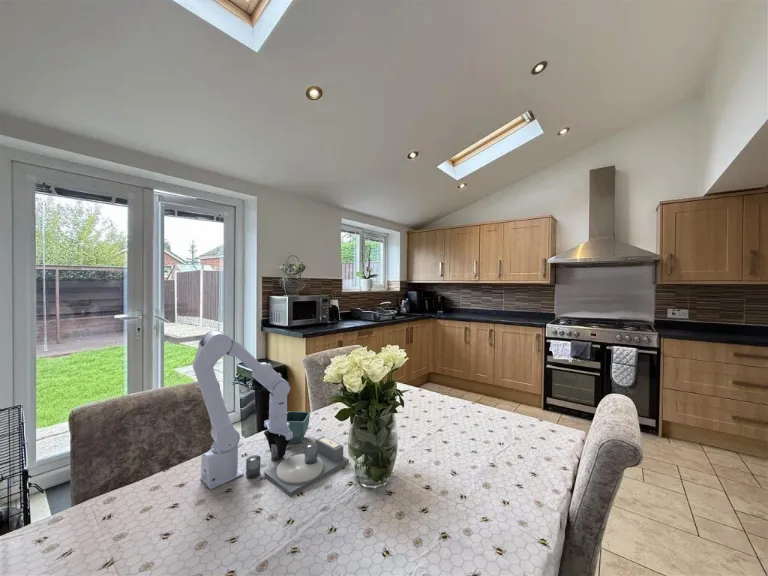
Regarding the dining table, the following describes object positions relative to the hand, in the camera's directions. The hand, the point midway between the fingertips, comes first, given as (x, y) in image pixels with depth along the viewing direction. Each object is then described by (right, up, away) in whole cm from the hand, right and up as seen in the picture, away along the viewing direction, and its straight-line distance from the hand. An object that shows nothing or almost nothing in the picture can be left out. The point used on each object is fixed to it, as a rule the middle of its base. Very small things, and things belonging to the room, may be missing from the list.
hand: (277, 453), depth 106 cm
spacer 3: (+13, 0, -5) cm, 14 cm away
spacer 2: (0, -1, 0) cm, 2 cm away
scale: (+12, -2, -6) cm, 13 cm away
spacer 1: (-4, -2, -10) cm, 11 cm away
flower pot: (+3, -2, +12) cm, 13 cm away
